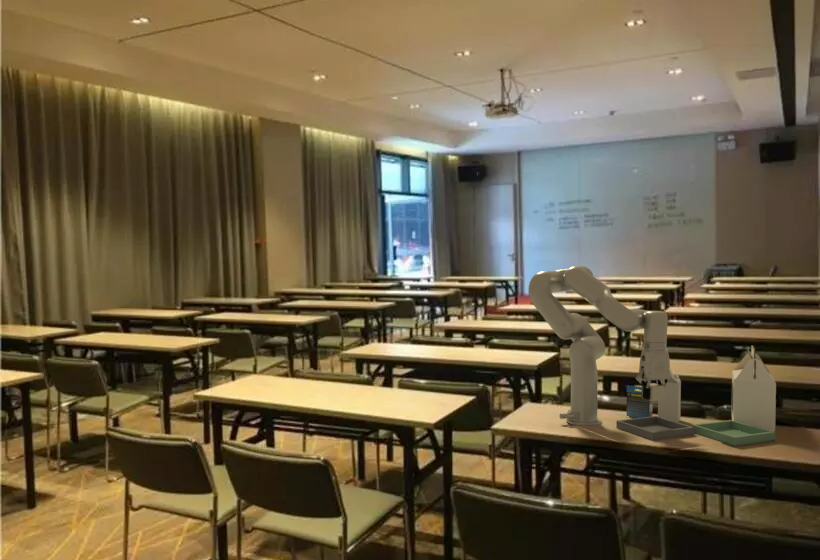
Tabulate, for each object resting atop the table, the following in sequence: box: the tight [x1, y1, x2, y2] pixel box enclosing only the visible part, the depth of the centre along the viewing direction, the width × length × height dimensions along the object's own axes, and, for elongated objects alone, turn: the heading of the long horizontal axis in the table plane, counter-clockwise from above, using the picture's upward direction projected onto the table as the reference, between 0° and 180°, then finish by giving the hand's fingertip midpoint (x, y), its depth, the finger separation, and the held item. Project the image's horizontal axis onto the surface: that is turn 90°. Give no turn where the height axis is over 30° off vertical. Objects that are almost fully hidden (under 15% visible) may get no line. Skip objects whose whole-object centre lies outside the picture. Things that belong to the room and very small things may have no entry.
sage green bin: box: [691, 419, 776, 448], centre depth 229 cm, size 18×18×3 cm
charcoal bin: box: [615, 415, 695, 441], centre depth 235 cm, size 18×18×3 cm
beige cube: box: [641, 382, 664, 402], centre depth 235 cm, size 5×5×5 cm
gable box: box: [731, 345, 777, 432], centre depth 247 cm, size 22×13×28 cm, turn 156°
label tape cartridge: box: [626, 384, 653, 418], centre depth 256 cm, size 9×4×12 cm, turn 51°
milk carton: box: [657, 368, 682, 423], centre depth 251 cm, size 7×7×19 cm
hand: (652, 397), depth 235 cm, fingers closed on beige cube, 5 cm apart
